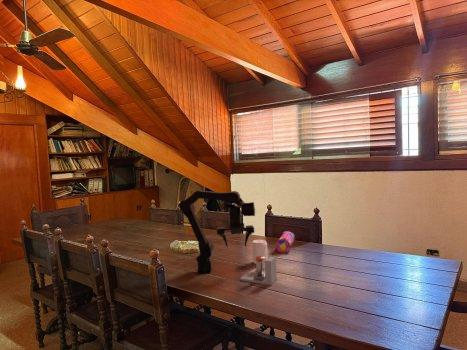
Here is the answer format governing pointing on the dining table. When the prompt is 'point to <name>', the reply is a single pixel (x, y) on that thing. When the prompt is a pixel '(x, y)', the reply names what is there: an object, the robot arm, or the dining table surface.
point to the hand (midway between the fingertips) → (236, 246)
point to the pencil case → (285, 242)
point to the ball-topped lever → (259, 269)
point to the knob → (263, 263)
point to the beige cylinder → (259, 249)
